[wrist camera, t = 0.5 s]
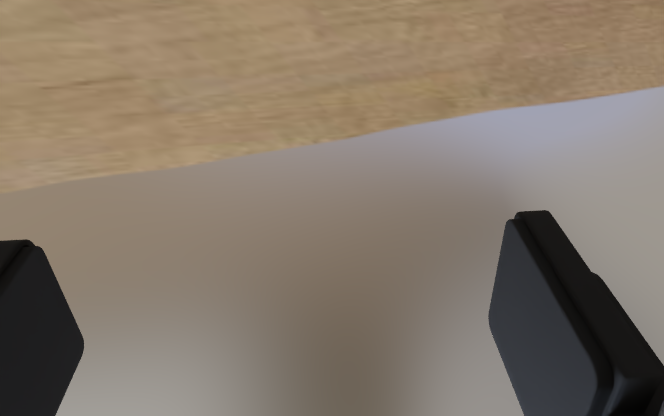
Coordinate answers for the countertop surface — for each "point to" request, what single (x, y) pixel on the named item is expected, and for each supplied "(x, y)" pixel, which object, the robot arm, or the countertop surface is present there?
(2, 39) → the countertop surface
